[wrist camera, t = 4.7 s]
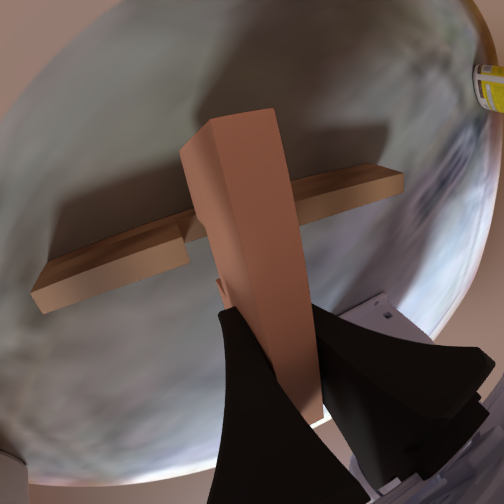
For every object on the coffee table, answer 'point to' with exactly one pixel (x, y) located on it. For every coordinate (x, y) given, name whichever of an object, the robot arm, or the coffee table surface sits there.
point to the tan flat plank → (258, 244)
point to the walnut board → (194, 237)
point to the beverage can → (13, 480)
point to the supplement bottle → (489, 86)
